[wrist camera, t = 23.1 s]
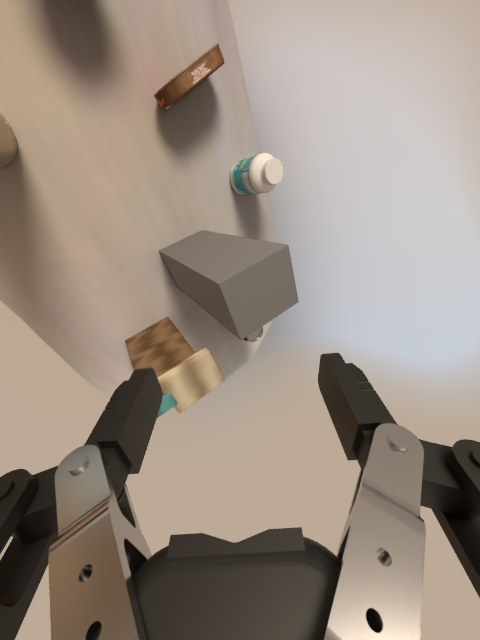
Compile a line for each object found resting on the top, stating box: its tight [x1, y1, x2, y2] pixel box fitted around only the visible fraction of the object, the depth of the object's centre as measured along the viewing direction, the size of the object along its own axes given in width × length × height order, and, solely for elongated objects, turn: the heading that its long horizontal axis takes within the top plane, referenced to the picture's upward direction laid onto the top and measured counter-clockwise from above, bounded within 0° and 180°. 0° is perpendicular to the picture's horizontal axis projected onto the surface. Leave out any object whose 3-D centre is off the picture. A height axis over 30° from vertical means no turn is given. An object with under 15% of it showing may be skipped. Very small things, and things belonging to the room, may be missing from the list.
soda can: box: [244, 327, 263, 342], centre depth 69 cm, size 7×7×12 cm
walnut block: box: [125, 317, 195, 378], centre depth 54 cm, size 12×8×21 cm, turn 111°
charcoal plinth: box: [159, 230, 298, 340], centre depth 47 cm, size 12×10×32 cm
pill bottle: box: [230, 153, 283, 195], centre depth 53 cm, size 8×7×14 cm
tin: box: [154, 43, 224, 111], centre depth 42 cm, size 15×3×8 cm, turn 126°
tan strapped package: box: [157, 347, 225, 418], centre depth 44 cm, size 21×9×2 cm, turn 111°
